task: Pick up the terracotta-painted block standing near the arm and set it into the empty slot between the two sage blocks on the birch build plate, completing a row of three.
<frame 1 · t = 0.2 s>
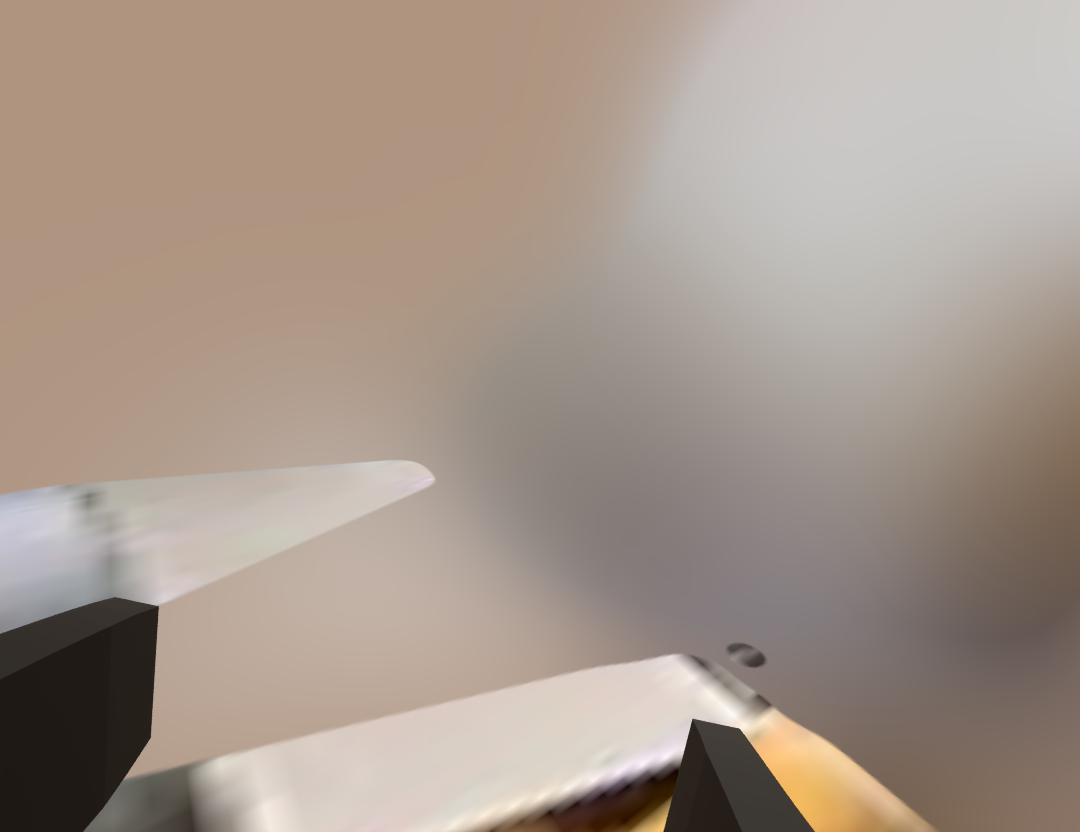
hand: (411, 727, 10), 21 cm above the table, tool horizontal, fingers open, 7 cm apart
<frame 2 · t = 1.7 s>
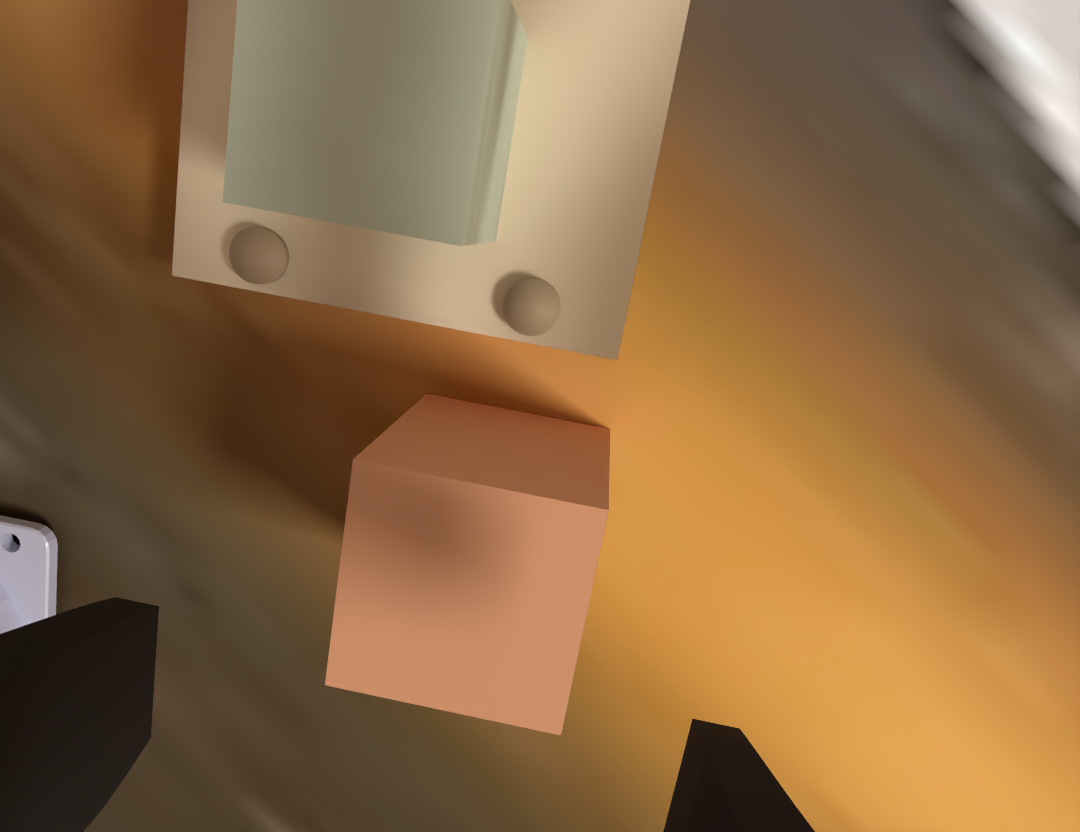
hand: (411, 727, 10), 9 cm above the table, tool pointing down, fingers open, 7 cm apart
terracotta block: (503, 497, 19), on the table
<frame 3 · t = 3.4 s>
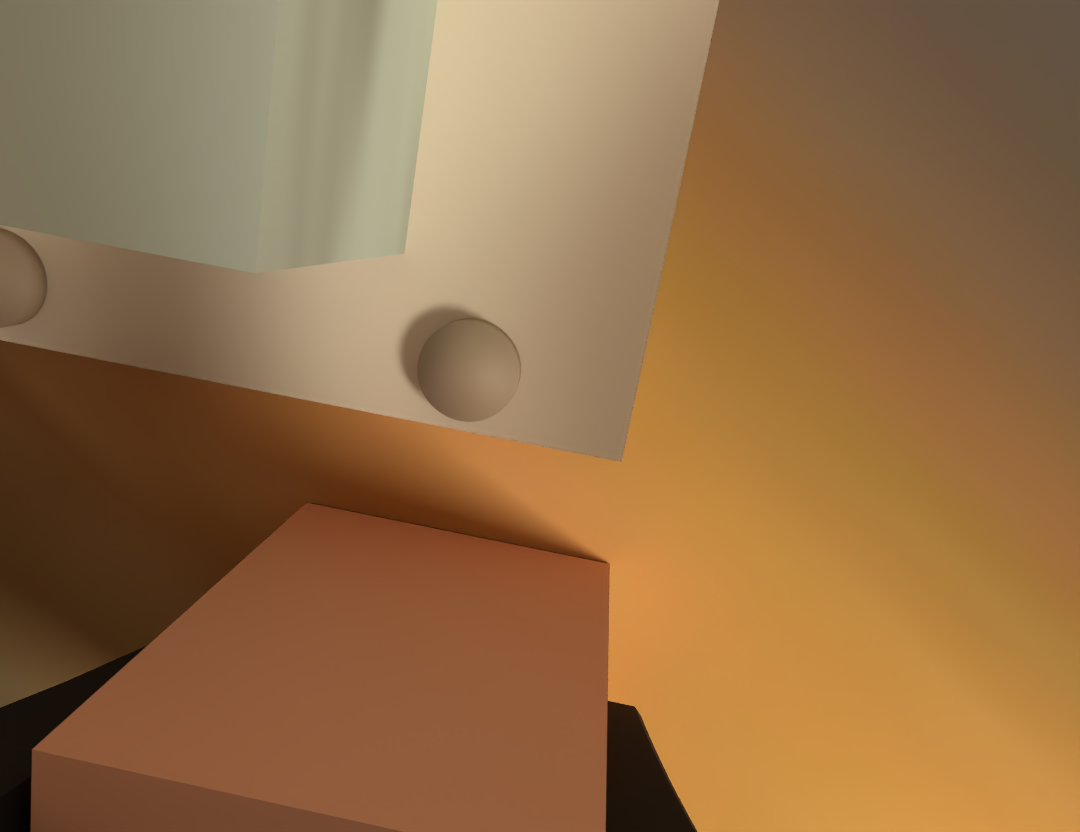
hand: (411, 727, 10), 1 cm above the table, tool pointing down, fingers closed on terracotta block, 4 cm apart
terracotta block: (434, 668, 12), on the table, touching gripper
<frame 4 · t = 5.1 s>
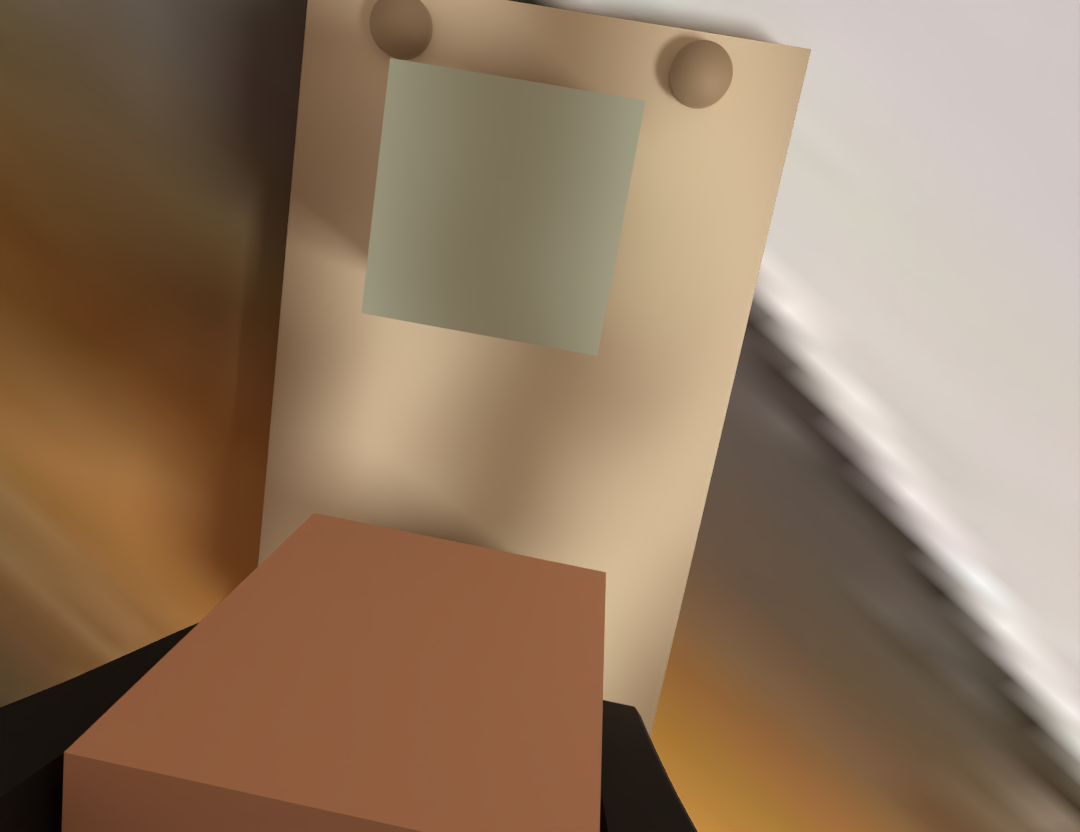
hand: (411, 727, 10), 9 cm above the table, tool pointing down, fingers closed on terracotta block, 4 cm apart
terracotta block: (437, 672, 12), point 7 cm above the table, touching gripper
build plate: (494, 431, 19), on the table
when the fingers open (4 cm above the table, at t = 7.1 s): terracotta block drops 1 cm, resting on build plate.
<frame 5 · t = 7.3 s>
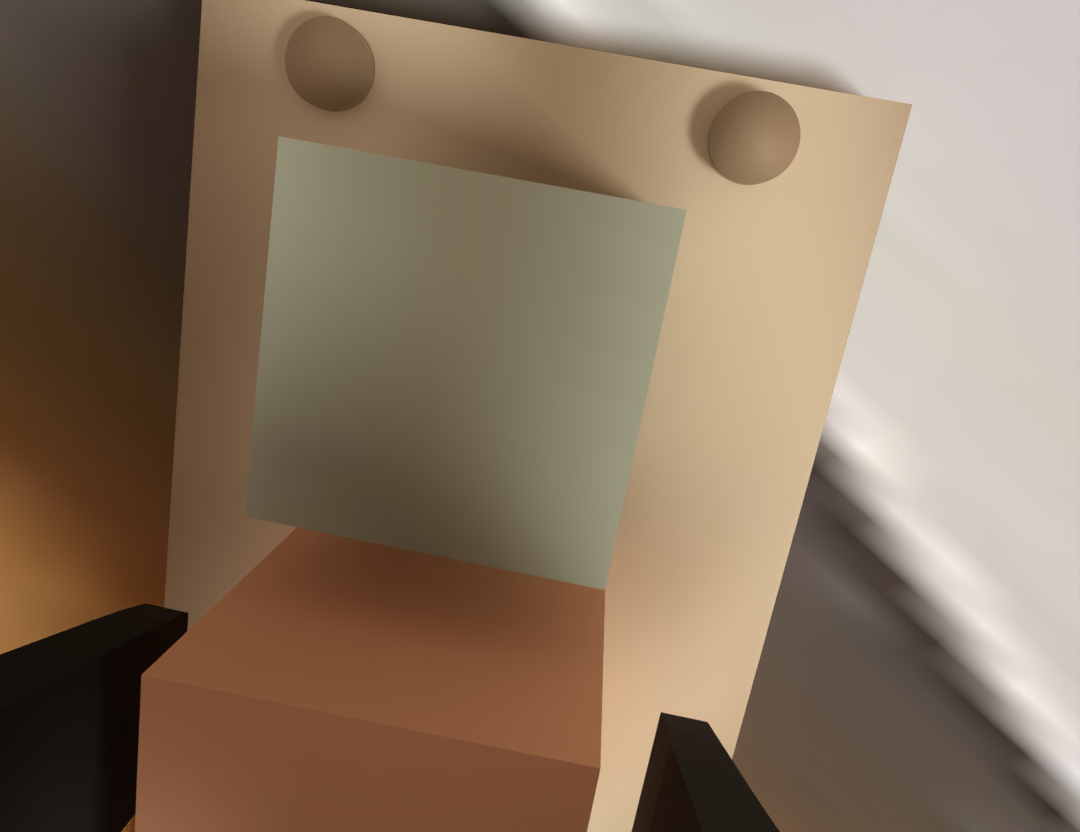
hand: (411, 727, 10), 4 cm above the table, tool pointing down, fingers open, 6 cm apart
terracotta block: (452, 634, 13), point 1 cm above the table, touching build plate
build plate: (465, 593, 14), on the table
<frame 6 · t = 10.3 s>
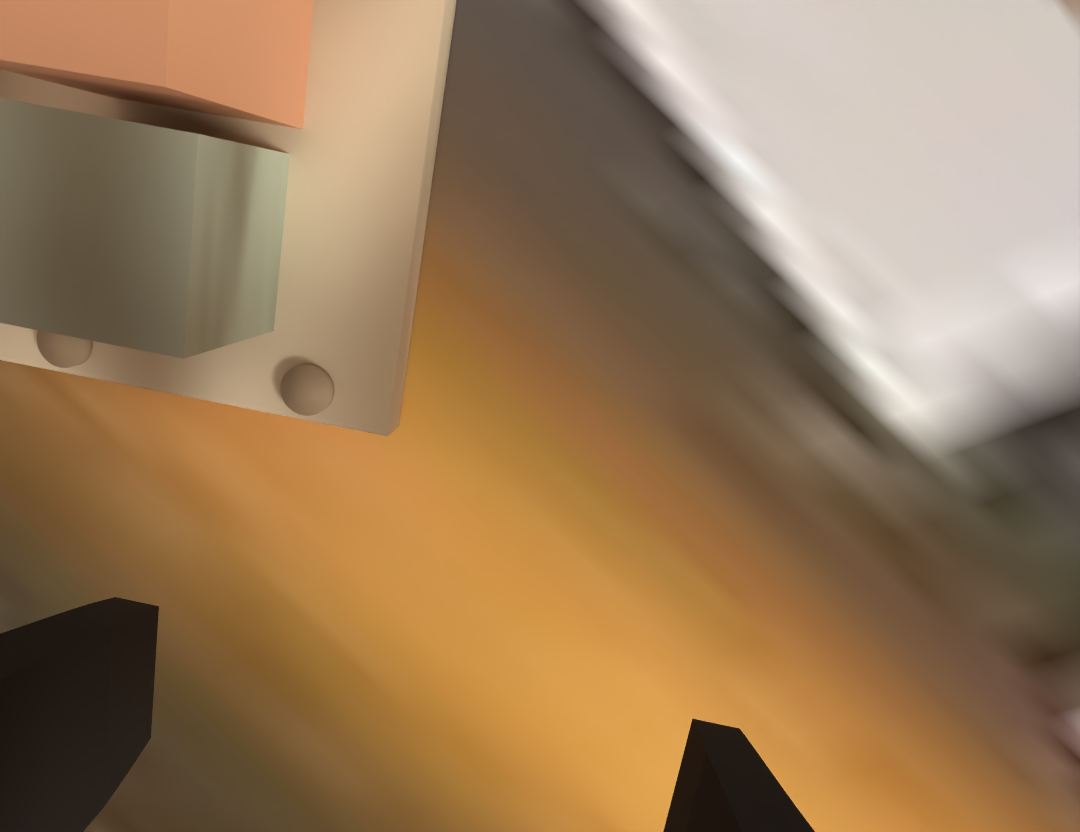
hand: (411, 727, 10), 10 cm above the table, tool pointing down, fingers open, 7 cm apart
terracotta block: (212, 5, 17), point 1 cm above the table, touching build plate
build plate: (234, 4, 18), on the table
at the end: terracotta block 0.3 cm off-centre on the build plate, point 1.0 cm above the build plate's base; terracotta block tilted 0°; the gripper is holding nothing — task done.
